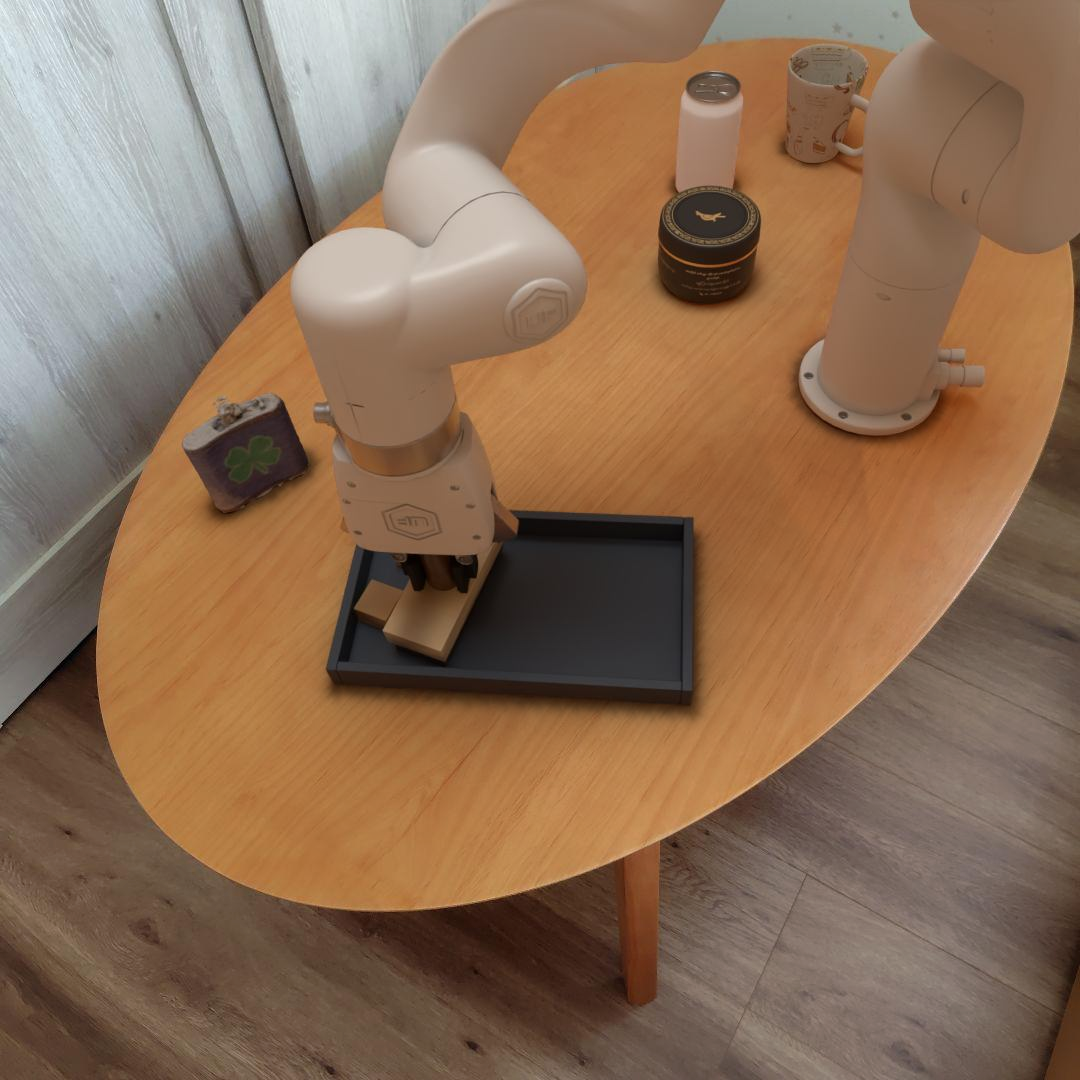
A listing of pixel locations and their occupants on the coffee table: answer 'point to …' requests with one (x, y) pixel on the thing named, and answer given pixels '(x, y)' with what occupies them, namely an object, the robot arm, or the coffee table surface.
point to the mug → (823, 101)
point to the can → (709, 131)
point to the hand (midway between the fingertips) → (443, 575)
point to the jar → (708, 243)
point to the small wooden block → (377, 604)
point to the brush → (437, 607)
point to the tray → (550, 615)
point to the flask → (245, 450)
